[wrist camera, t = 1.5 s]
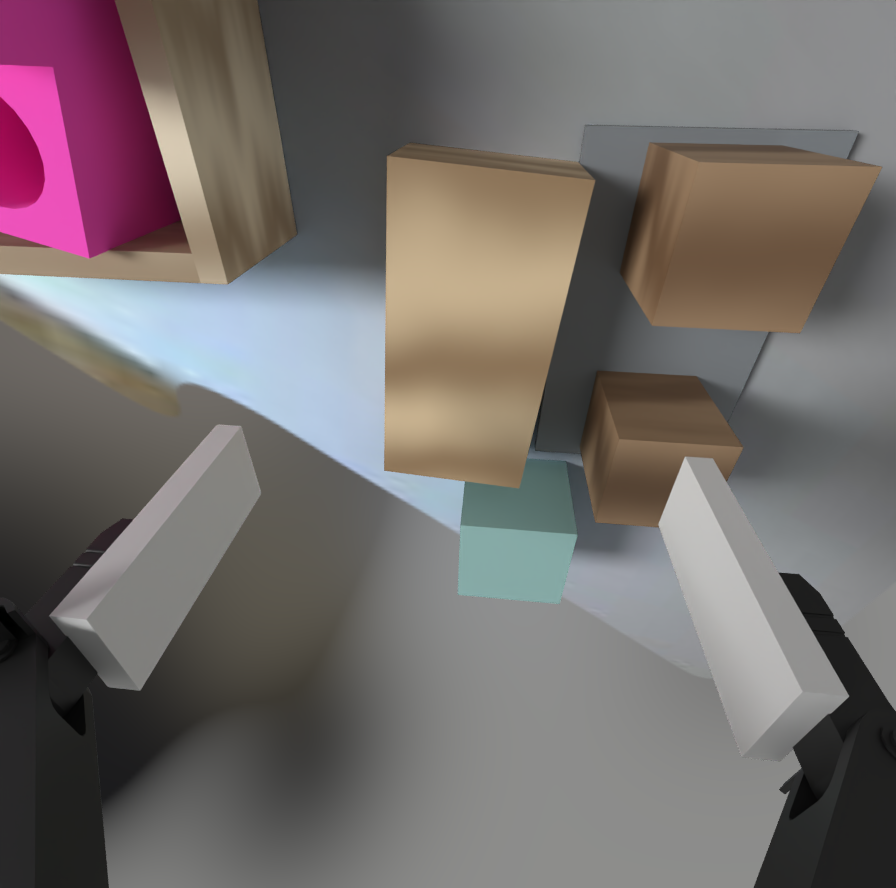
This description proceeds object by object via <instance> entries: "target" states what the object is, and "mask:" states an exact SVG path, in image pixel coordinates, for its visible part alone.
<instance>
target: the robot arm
mask: <svg viewBox="0 0 896 888" xmlns="http://www.w3.org/2000/svg"><path fill="white" fill-rule="evenodd" d="M260 495H261V491H260V487H259V484H258V481H257V477H256V474H255V471H254V467H253V464H252V461H251V457H250V454H249V450H248V447H247V444H246V440H245V437H244V434H243V430H242V427H241V426H231V425H216V426H215V428H214V429H213V430H212V431H211V432H210V433H209V434H208V436H207V437H206V438H205V439H204V440H203V441H202V442H201V444H200V445H199V446H198V447H197V448H196V449H195V450H194V452H193V453H192V454H191V455H190V456H189V457H188V458H187V460H186V461H185V462H184V463H183V464H182V465H181V466H180V468H179V469H178V470H177V471H176V472H175V473H174V474H173V475H172V477H171V478H170V479H169V480H168V481H167V482H166V484H164V486H163V487H162V488H161V489H160V490H159V492H157V494H156V495H155V496H154V497H153V498H152V499H151V500H150V502H149V503H148V504H147V505H146V506H145V507H144V508H143V510H142V511H141V512H140V513H139V514H138V515H137V516H136V518H135V519H121V520H120V521H119V522H117V523H115V524H114V525H112V526H111V527H109V528H108V529H106V530H105V531H103V532H102V533H101V534H100V535H99V536H98V537H97V538H96V539H95V540H94V541H93V542H92V543H91V545H90V546H89V547H88V548H87V549H86V552H85V553H82V554H81V555H80V556H79V557H78V559H77V560H76V561H75V562H74V563H73V566H72V567H69V568H68V569H67V570H66V572H65V573H64V574H63V575H62V576H61V577H60V578H59V579H58V580H57V581H56V582H55V583H54V584H53V586H52V587H51V588H50V589H49V590H48V591H47V592H46V593H45V594H44V595H43V596H42V598H40V600H39V601H38V602H37V603H36V604H35V605H34V606H33V607H32V608H31V609H30V610H29V612H28V613H27V614H26V615H25V616H24V615H23V614H22V612H21V611H20V610H19V609H18V608H17V607H16V606H15V604H14V603H13V602H12V601H9V600H7V599H5V598H0V888H109V884H108V873H107V861H106V851H105V838H104V827H103V815H102V805H101V793H100V782H99V770H98V758H97V746H96V735H95V724H94V712H93V702H92V695H91V693H90V690H89V688H88V686H89V685H90V683H91V682H92V680H93V679H94V677H95V676H96V675H97V674H98V675H99V677H100V678H101V679H102V680H103V681H104V682H105V684H106V685H107V686H108V687H113V688H122V689H131V690H141V688H142V687H143V685H144V683H145V681H146V680H147V678H148V677H149V675H150V674H151V672H152V670H153V668H154V667H155V665H156V663H157V662H158V661H159V659H160V657H161V656H162V654H163V652H164V651H165V649H166V647H167V646H168V644H169V642H170V641H171V639H172V638H173V636H174V635H175V633H176V631H177V630H178V628H179V626H180V625H181V623H182V622H183V620H184V618H185V617H186V615H187V613H188V612H189V610H190V609H191V607H192V605H193V603H194V602H195V600H196V599H197V597H198V596H199V594H200V592H201V590H202V589H203V587H204V586H205V584H206V583H207V581H208V579H209V578H210V576H211V574H212V573H213V571H214V569H215V568H216V566H217V564H218V563H219V561H220V560H221V558H222V556H223V555H224V553H225V552H226V550H227V548H228V547H229V545H230V543H231V542H232V540H233V539H234V537H235V535H236V534H237V532H238V530H239V529H240V527H241V526H242V524H243V522H244V520H245V519H246V517H247V516H248V514H249V513H250V511H251V509H252V508H253V506H254V504H255V503H256V501H257V500H258V498H259V496H260ZM658 525H659V528H660V531H661V534H662V536H663V539H664V542H665V545H666V548H667V550H668V553H669V556H670V559H671V562H672V564H673V567H674V570H675V573H676V576H677V578H678V581H679V584H680V587H681V590H682V592H683V595H684V598H685V601H686V604H687V606H688V609H689V612H690V615H691V618H692V620H693V623H694V626H695V629H696V632H697V634H698V637H699V640H700V643H701V646H702V648H703V651H704V654H705V657H706V660H707V662H708V665H709V668H710V671H711V674H712V676H713V679H714V682H715V685H716V688H717V690H718V693H719V696H720V699H721V702H722V704H723V707H724V710H725V713H726V716H727V718H728V721H729V724H730V727H731V729H732V732H733V735H734V738H735V741H736V744H737V746H738V749H739V752H740V754H741V757H743V758H753V759H762V760H771V761H781V760H782V759H783V758H784V757H785V756H786V755H788V754H789V753H790V752H791V751H792V750H793V749H794V751H795V754H796V756H797V758H798V761H799V763H800V765H801V767H802V768H801V769H800V770H799V771H798V772H797V773H795V774H794V775H793V776H792V777H791V778H790V779H789V780H788V781H786V782H785V783H784V784H783V786H782V787H781V788H780V789H779V790H780V791H781V792H783V793H784V794H786V793H787V792H788V791H790V792H789V795H788V797H787V800H786V803H785V806H784V808H783V811H782V813H781V816H780V819H779V821H778V824H777V827H776V829H775V832H774V835H773V837H772V840H771V843H770V845H769V848H768V851H767V853H766V856H765V859H764V861H763V864H762V867H761V869H760V872H759V875H758V877H757V880H756V883H755V886H754V888H896V711H895V710H894V709H893V707H892V706H891V705H890V703H889V702H888V700H887V699H886V697H885V696H884V694H883V692H882V691H881V689H880V688H879V686H878V684H877V683H876V681H875V680H874V678H873V677H872V675H871V673H870V672H869V670H868V669H867V667H866V666H865V664H864V662H863V661H862V659H861V658H860V656H859V654H858V653H857V651H856V650H855V648H854V646H853V645H852V644H851V642H850V640H849V639H848V637H845V635H844V633H845V632H844V631H843V629H842V628H841V626H840V624H839V623H838V621H837V620H836V619H834V618H833V616H834V615H833V613H832V612H831V610H830V609H829V607H828V605H827V604H826V602H825V601H824V599H823V598H822V596H821V594H820V593H819V592H818V591H817V590H816V589H814V588H813V587H812V586H811V585H810V584H809V583H808V582H807V581H806V580H805V579H804V578H803V577H801V576H800V575H799V574H789V573H778V571H777V569H776V568H775V566H774V564H773V562H772V561H771V559H770V557H769V555H768V554H767V552H766V550H765V548H764V547H763V545H762V543H761V541H760V540H759V538H758V536H757V534H756V533H755V531H754V529H753V528H752V526H751V524H750V522H749V521H748V519H747V517H746V515H745V514H744V512H743V510H742V508H741V507H740V505H739V503H738V501H737V500H736V498H735V496H734V494H733V493H732V491H731V489H730V487H729V486H728V484H727V482H726V480H725V479H724V477H723V475H722V473H721V472H720V470H719V468H718V467H717V465H716V463H715V461H714V460H713V458H699V457H685V458H684V461H683V463H682V466H681V468H680V471H679V473H678V476H677V478H676V481H675V483H674V486H673V488H672V491H671V493H670V496H669V498H668V501H667V504H666V506H665V509H664V511H663V514H662V516H661V519H660V521H659V524H658Z"/></svg>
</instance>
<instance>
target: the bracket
mask: <svg viewBox="0 0 896 888" xmlns="http://www.w3.org/2000/svg"><path fill="white" fill-rule="evenodd" d="M180 220H181V217H180V213H179V210H178V207H177V203H176V200H175V197H174V194H173V190H172V187H171V184H170V180H169V177H168V174H167V171H166V167H165V164H164V161H163V157H162V154H161V151H160V148H159V144H158V141H157V138H156V134H155V131H154V128H153V125H152V121H151V118H150V115H149V111H148V108H147V105H146V102H145V98H144V95H143V92H142V89H141V85H140V82H139V79H138V75H137V72H136V69H135V66H134V62H133V59H132V56H131V52H130V49H129V46H128V43H127V39H126V36H125V33H124V29H123V26H122V23H121V20H120V16H119V13H118V10H117V6H116V3H115V0H0V232H2V233H5V234H9V235H12V236H16V237H19V238H22V239H26V240H29V241H32V242H36V243H39V244H42V245H46V246H49V247H52V248H56V249H59V250H62V251H66V252H69V253H72V254H76V255H79V256H82V257H86V258H89V259H90V258H92V257H95V256H97V255H99V254H102V253H104V252H107V251H108V250H110V249H112V248H115V247H117V246H119V245H122V244H124V243H127V242H129V241H131V240H134V239H136V238H139V237H141V236H144V235H146V234H148V233H151V232H153V231H156V230H158V229H160V228H163V227H165V226H168V225H170V224H172V223H175V222H177V221H180Z"/></svg>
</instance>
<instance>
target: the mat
mask: <svg viewBox="0 0 896 888" xmlns="http://www.w3.org/2000/svg"><path fill="white" fill-rule="evenodd" d="M858 132H859V131H853V130H805V129H757V128H709V127H660V126H612V125H585V129H584V136H583V142H582V149H581V155H580V161H579V164H580V165H581V166H582V167H583V168H584V169H585V170H586V171H587V172H588V173H589V174H590V175H591V176H592V177H593V178H594V179H595V184H594V188H593V192H592V196H591V200H590V204H589V208H588V212H587V216H586V220H585V224H584V228H583V232H582V236H581V240H580V244H579V248H578V252H577V257H576V261H575V265H574V269H573V273H572V277H571V281H570V285H569V289H568V293H567V297H566V301H565V305H564V309H563V313H562V317H561V321H560V325H559V329H558V333H557V338H556V342H555V346H554V350H553V354H552V358H551V362H550V366H549V370H548V374H547V378H546V382H545V386H544V392H543V399H542V405H541V411H540V418H539V424H538V431H537V437H536V443H535V451H547V452H562V453H577V454H581V451H580V443H581V439H582V434H583V430H584V426H585V421H586V417H587V413H588V408H589V404H590V399H591V395H592V391H593V386H594V382H595V378H596V373H597V371H615V372H633V373H651V374H669V375H686V376H697V377H698V379H699V380H700V382H701V384H702V385H703V387H704V388H705V390H706V391H707V393H708V394H709V396H710V397H711V399H712V400H713V402H714V403H715V405H716V406H717V408H718V409H719V411H720V412H721V414H722V415H723V417H724V418H725V420H726V421H727V423H728V421H729V419H730V416H731V414H732V412H733V410H734V408H735V405H736V403H737V401H738V399H739V397H740V394H741V392H742V390H743V388H744V385H745V383H746V381H747V379H748V377H749V374H750V372H751V370H752V368H753V365H754V363H755V361H756V359H757V357H758V354H759V352H760V350H761V348H762V345H763V343H764V341H765V339H766V337H767V334H768V332H767V331H747V330H727V329H706V328H686V327H666V326H652V325H651V323H650V322H649V320H648V318H647V317H646V315H645V313H644V312H643V310H642V309H641V307H640V305H639V304H638V302H637V300H636V299H635V297H634V295H633V294H632V292H631V291H630V289H629V287H628V286H627V284H626V282H625V281H624V279H623V277H622V276H621V274H620V273H619V272H620V268H621V264H622V259H623V255H624V251H625V246H626V242H627V237H628V233H629V229H630V224H631V220H632V216H633V211H634V207H635V202H636V198H637V194H638V189H639V185H640V181H641V176H642V172H643V167H644V163H645V159H646V154H647V150H648V146H649V142H653V143H697V144H740V145H783V146H788V147H792V148H797V149H802V150H806V151H811V152H816V153H820V154H825V155H830V156H834V157H839V158H843V159H847V157H848V155H849V152H850V150H851V148H852V146H853V144H854V141H855V139H856V137H857V135H858Z"/></svg>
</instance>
